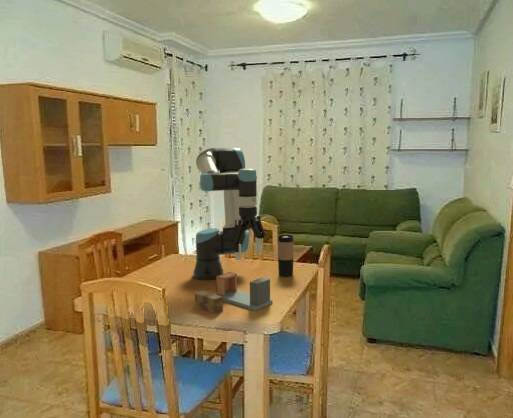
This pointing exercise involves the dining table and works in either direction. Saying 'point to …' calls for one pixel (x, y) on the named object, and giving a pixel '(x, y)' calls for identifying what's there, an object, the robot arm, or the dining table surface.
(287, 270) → the travel mug
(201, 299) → the brown block
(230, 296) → the board
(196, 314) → the dining table surface
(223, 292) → the block
